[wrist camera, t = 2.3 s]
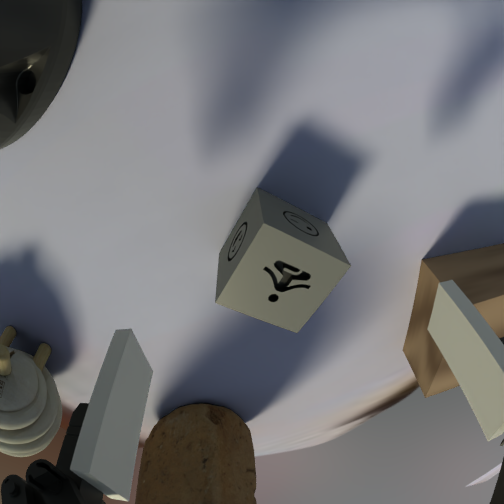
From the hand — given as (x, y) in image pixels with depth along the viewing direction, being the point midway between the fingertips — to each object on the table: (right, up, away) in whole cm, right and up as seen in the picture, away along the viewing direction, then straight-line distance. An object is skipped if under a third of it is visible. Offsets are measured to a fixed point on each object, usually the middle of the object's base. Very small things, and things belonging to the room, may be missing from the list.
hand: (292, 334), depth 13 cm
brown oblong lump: (-7, -15, +18) cm, 25 cm away
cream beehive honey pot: (-24, -7, +13) cm, 28 cm away
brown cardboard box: (+17, -1, +11) cm, 20 cm away
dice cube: (0, +4, +8) cm, 9 cm away
